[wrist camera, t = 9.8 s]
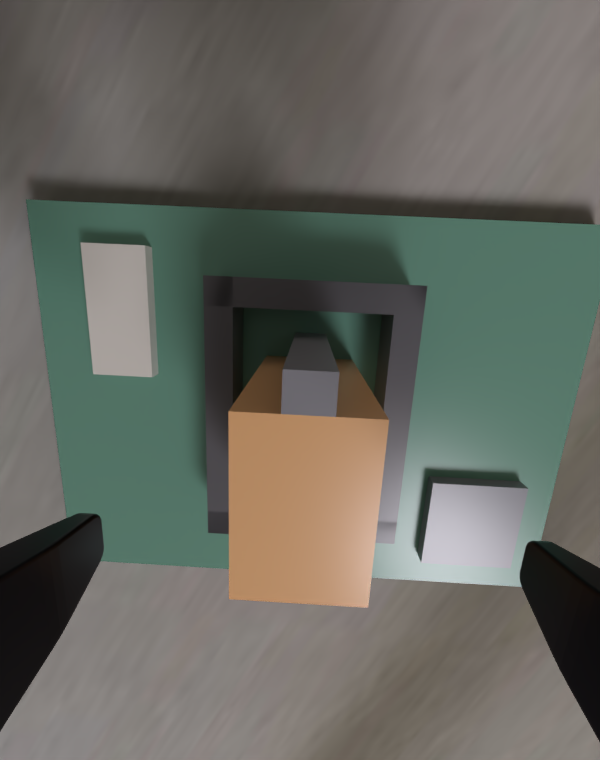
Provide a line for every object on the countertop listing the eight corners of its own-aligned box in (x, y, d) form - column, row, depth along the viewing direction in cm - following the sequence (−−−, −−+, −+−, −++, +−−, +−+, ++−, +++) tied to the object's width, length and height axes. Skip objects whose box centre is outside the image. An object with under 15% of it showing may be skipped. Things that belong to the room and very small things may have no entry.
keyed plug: (264, 466, 16) (229, 598, 9) (267, 331, 14) (228, 366, 8) (343, 471, 16) (368, 607, 9) (354, 335, 14) (394, 375, 7)
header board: (84, 544, 18) (41, 593, 15) (45, 205, 14) (-23, 183, 11) (517, 571, 18) (557, 625, 15) (596, 230, 14) (671, 214, 11)
